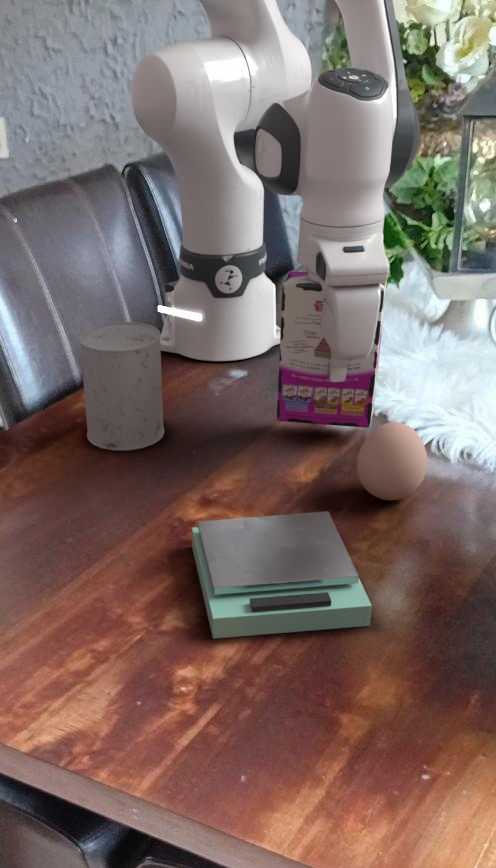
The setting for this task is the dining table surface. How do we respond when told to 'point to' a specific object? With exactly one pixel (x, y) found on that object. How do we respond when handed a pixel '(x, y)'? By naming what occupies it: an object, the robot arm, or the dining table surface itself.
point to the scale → (280, 606)
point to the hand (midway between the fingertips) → (329, 367)
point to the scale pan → (275, 553)
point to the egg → (392, 461)
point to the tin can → (122, 385)
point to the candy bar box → (320, 363)
